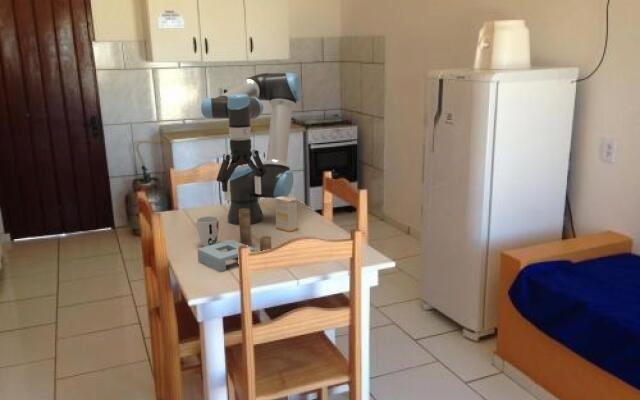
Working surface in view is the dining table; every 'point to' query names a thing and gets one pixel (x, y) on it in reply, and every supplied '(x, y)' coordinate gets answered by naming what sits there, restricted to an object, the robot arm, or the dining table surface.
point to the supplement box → (286, 213)
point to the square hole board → (219, 254)
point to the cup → (208, 230)
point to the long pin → (245, 226)
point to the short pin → (265, 243)
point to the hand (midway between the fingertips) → (243, 197)
